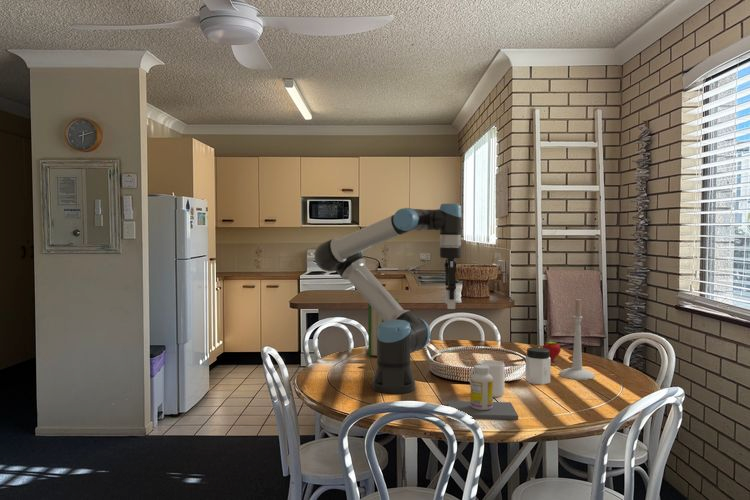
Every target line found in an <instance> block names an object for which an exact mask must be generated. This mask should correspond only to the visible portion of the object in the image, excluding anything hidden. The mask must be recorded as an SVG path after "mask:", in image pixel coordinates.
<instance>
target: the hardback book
mask: <svg viewBox="0 0 750 500" xmlns="http://www.w3.org/2000/svg"><path fill="white" fill-rule="evenodd" d="M394 299H395V300H396V302H397V303H398V304H399V298H394ZM367 303H368V302H367ZM367 309H368V312H367V313H368V314H367V315H368V321H367V323H368V325H367V327H368V331H367V333H368V335H367V336H368V337H367V338H368V339H367V341H368V342H367V343H368V345H367V347H368V348H367V349H368V352H367V357H369V358H370V357H373V356H376V357H377V330H378V326H379V324H381V323H382V322H384V321H383V320H382V318H381V317H380V316H379V315H378V314H377V313H376V311H375V310H374V309H373V308H372V307H371V305H370V304H369V303H368V308H367Z"/></svg>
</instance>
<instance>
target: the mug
mask: <svg viewBox="0 0 750 500" xmlns="http://www.w3.org/2000/svg"><path fill="white" fill-rule="evenodd" d="M478 365H487V366H489V367H490V371H489V374H490V375H491V376H492V378H493V398H500V397H503V395H505V369H506V368H505V363H504V361H500V360H493V359H485V360H481V361H479V362H478ZM473 373H475V371H474V367H473V368H471V370H469V373H468V381H469V384H470V385H471V376H472V374H473Z"/></svg>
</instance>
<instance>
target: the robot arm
mask: <svg viewBox="0 0 750 500" xmlns="http://www.w3.org/2000/svg"><path fill="white" fill-rule="evenodd" d="M462 218H463V215H462V205H461V204H459V203H441V204H440V206H439V208H438V209H437V208H436V209H423V208H421V209H420V208H410V207H404V208H399V209H398V210H397V211H396V212H395V213H394V214H393V215H390V216H388V217H385V218H383V219H381V220H378V221H376V222H374V223H372V224H370V225H367V226H365V227H363V228H361V229H359V230H357V231H353V232H352V233H349V234H347V235H345V236H342V237H340V238H338V237H334V238H331V239H329V240H326V241H324V242H322V243H320V244H318V246H317V247H316V249H315V251H314V257H313V258H314V261H315V264H316V265H317V267H318V268H320V269H321V270H322V271H325V272H337V274H338V276H340V277H341V278H342V280H344V281H345V280H348V281H349V282H350V283H351V284H352V286H353V287H354V288H355V289H356V290H357V291H358V293H359V294H360V295H361V297H363V299H364V300H365V301H366V302H367V303H369V304H370V305H371V307H372V308H373V309H374V310H375V311H376V313H377V314H378V315H379V316H380V317H381V318H382V320H383V321H384V322H382V323H381V324H379V326H378V330H377V356H376V360H377V361H376V369H375V372H374V375H373V378H372V380H371V388H372V390H373V391H376V392H377V393H378V392H379V393H383V394H390V395H391V394H392V395H396V394H398V395H399V394H406V393H407V394H408V393H411V392H413V391H414V390H416V382H415V377H414V375H413V372H412V368H411V354H413V353H415V352H418V351H421V350H422V349H423V348H425V347H426V346H427V345H428V344H429V342H430V340H431V328H430V325H429V324H428V323H427V322H426V320H424V319H422V318H419V317H416V316H415V314H413V313H412V311H411V310H409V309H404V308H403V307H402V306H401V304H399V302H398V303H397V302H396V300H395V299H396V298H394V297H393V296H392V295H391V294H390V293H389V291H388V290H387V289H386V287H384V285H383V284H382V283H381V282H380V280H378V279H377V277H376V276H375V275H374V274H373V272H371V271H370V269H369V268H368V267H367V265H366V259H365V258H364V255H363V254H364V253H363V252H364V251H366V250H369V249H371V248H373V247H375V246H377V245H380V244H382V243H385V242H387V241H389V240H392V239H394V238H397V237H399V236H401V235H405V234H407V233H408V232H411V231H420V232H421V231H439V246H441V247H440V248H439V257H440V258H441V259H446V260H445V262H444V273H445V278H444V279H445V280H444V283H445V289H444V290H445V291H444V298H445V299H444V300H445V301H444V303H445V305H447V306H446V309H448V310H455V309H456V290H457V284H456V283H457V282H456V281H457V280H456V278H457V277H456V275H457V263H456V261H455V259H460V258H461V257H462V248H461V245H462V241H463V240H464V238H463V237H462Z"/></svg>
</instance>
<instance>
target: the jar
mask: <svg viewBox="0 0 750 500" xmlns="http://www.w3.org/2000/svg"><path fill="white" fill-rule="evenodd" d="M551 362H552V361H551V358H550V350H549V349H546V348H543V347H538V346H536V347H535V346H533V347H527V349H526V355H525V381H526V382H527V383H529V384H532V385H533V384H535V385H547V384H551V368H552V367H551V365H552V364H551Z"/></svg>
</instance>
